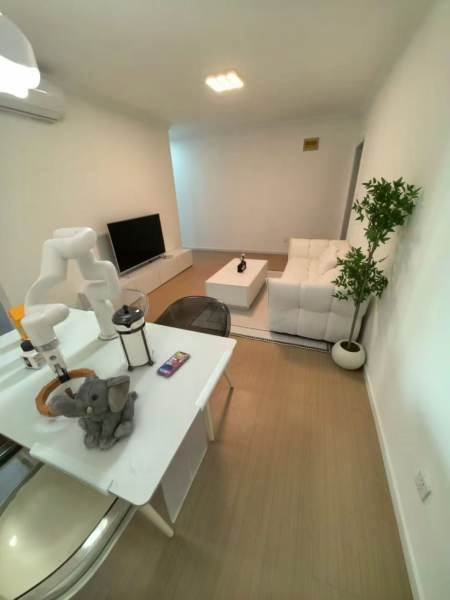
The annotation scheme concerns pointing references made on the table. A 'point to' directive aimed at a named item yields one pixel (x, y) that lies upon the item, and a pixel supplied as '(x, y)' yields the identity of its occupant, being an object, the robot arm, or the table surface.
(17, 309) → the orange juice
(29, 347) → the container
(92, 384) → the stuffed elephant
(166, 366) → the smartphone
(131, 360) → the coffee press
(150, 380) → the table surface
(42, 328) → the robot arm
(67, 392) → the spindle
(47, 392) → the orange-brown ring
